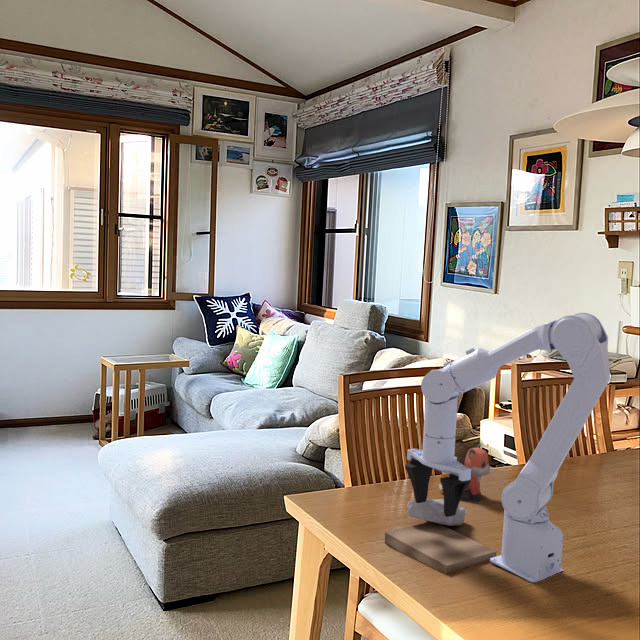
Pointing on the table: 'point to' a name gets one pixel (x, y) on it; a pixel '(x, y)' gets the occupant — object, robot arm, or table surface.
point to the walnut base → (438, 547)
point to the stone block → (435, 512)
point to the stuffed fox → (475, 472)
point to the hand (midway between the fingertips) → (435, 508)
